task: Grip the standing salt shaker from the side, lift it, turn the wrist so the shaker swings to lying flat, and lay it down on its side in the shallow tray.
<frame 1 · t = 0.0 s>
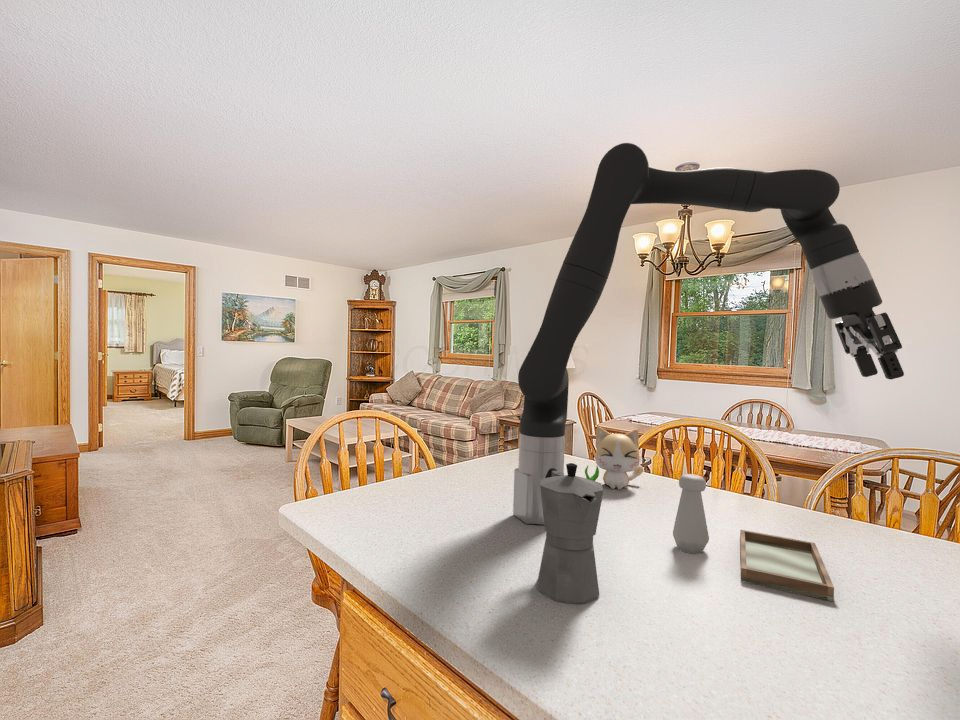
hand: (882, 376, 78), 31 cm above the countertop, tool tilted 20°, fingers open, 8 cm apart
tray: (780, 566, 77), on the countertop
kitten: (613, 486, 122), on the countertop
salt shaker: (690, 550, 83), on the countertop
coffeepot: (564, 585, 69), on the countertop
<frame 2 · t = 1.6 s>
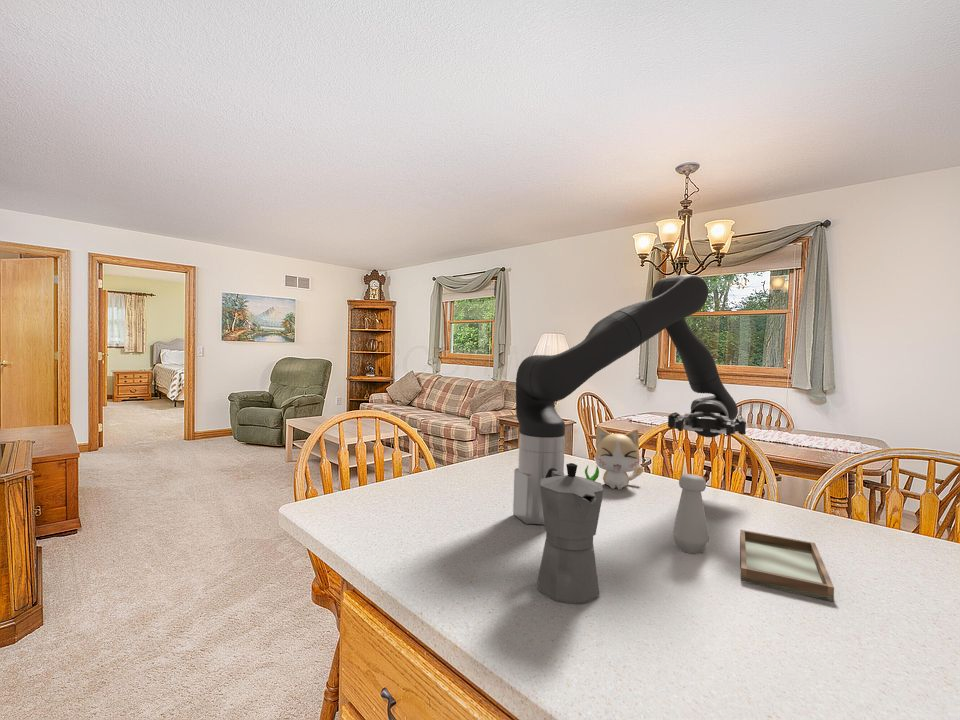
hand: (703, 427, 91), 20 cm above the countertop, tool horizontal, fingers open, 8 cm apart
nothing on the countertop moved.
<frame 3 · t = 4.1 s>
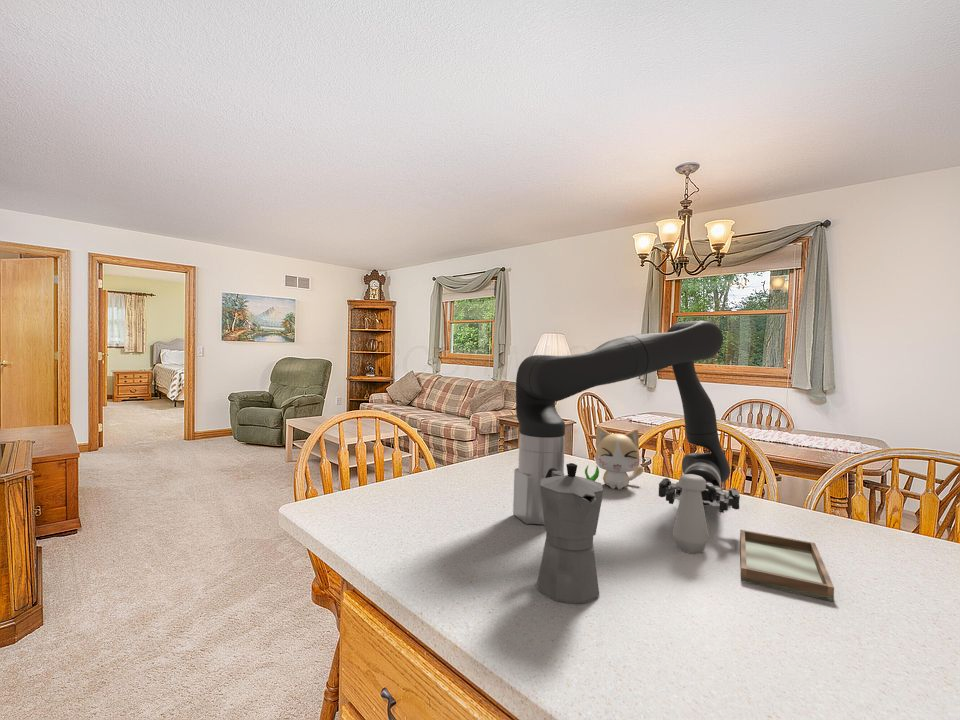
hand: (695, 502, 87), 7 cm above the countertop, tool horizontal, fingers open, 8 cm apart
nothing on the countertop moved.
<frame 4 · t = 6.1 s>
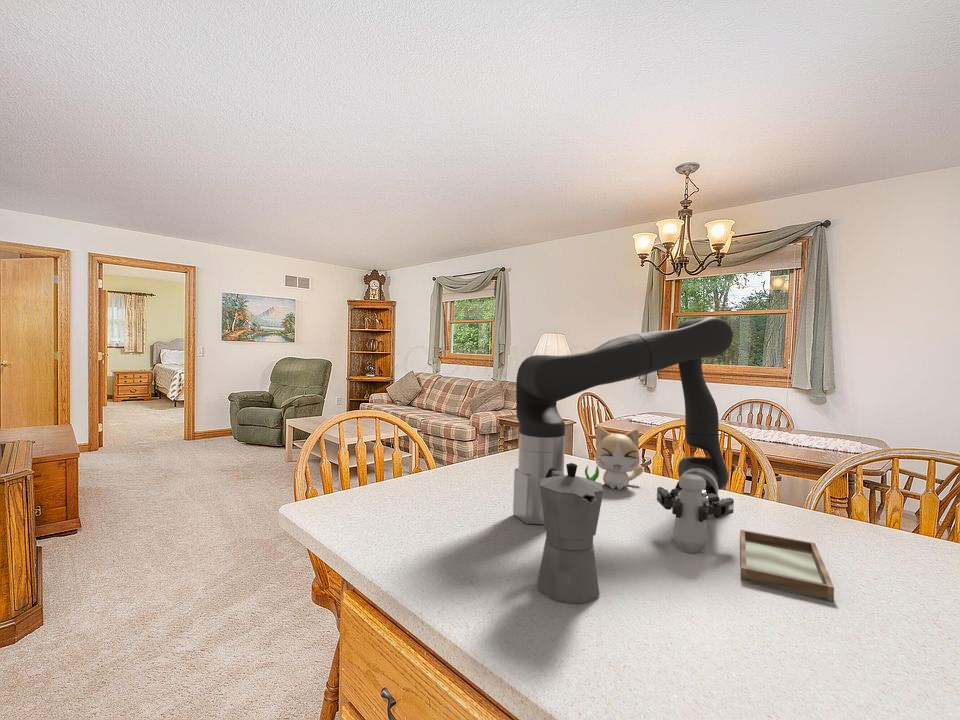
hand: (689, 513, 80), 7 cm above the countertop, tool horizontal, fingers closed on salt shaker, 3 cm apart
salt shaker: (689, 550, 83), on the countertop, touching gripper
everything else where it was.
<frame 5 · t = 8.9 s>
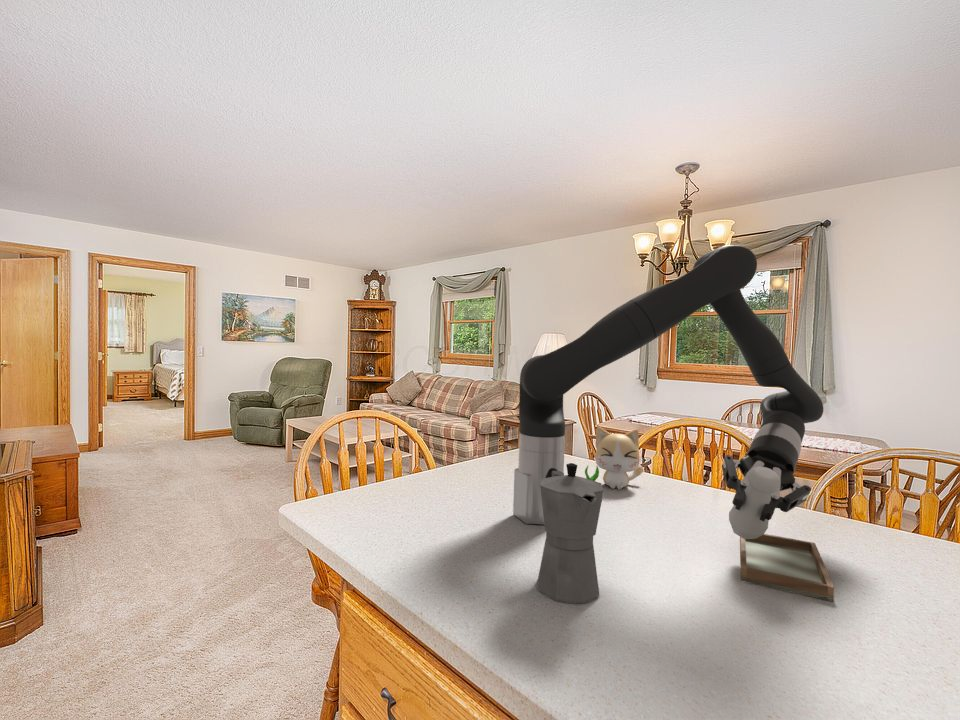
hand: (751, 511, 74), 10 cm above the countertop, tool tilted 65°, fingers closed on salt shaker, 3 cm apart
salt shaker: (743, 530, 80), point 5 cm above the countertop, touching gripper
everything else where it was.
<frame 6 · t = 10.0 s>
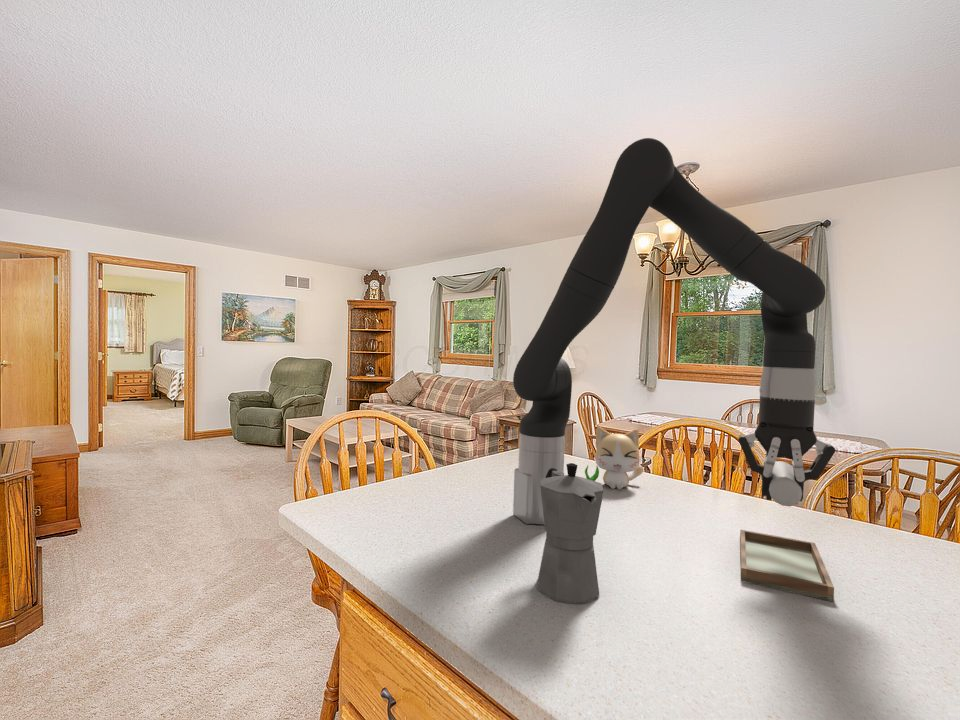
hand: (781, 500, 77), 11 cm above the countertop, tool pointing down, fingers closed on salt shaker, 3 cm apart
salt shaker: (779, 474, 84), point 13 cm above the countertop, touching gripper
everything else where it was.
when the fingers open (2 cm above the countertop, at t = 11.8 s): salt shaker drops 1 cm, resting on tray.
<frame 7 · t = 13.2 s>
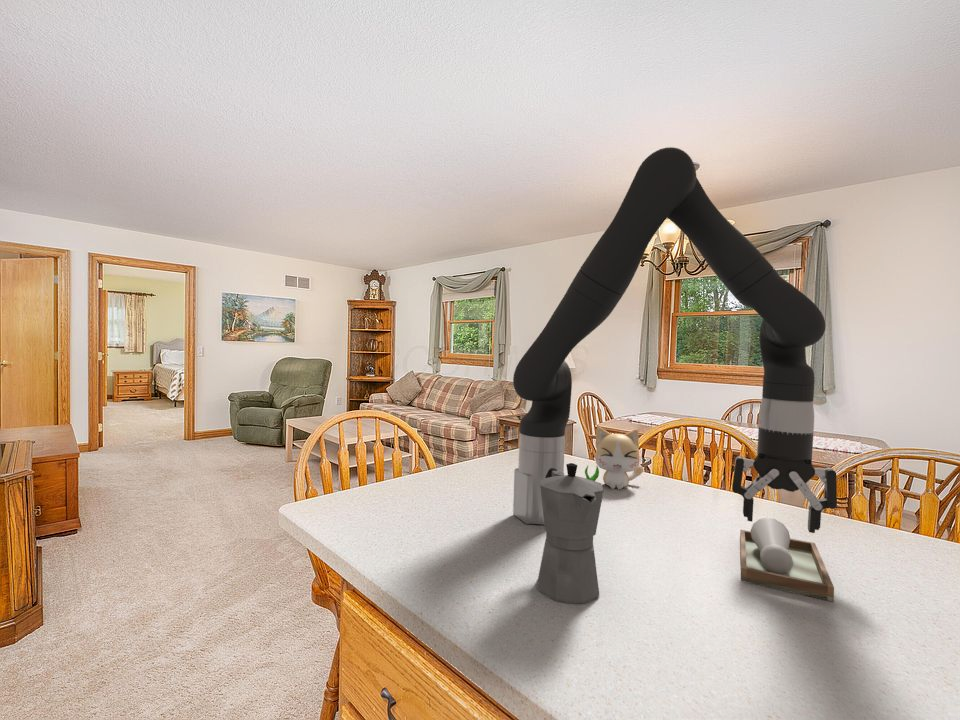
hand: (779, 525, 77), 7 cm above the countertop, tool pointing down, fingers open, 8 cm apart
salt shaker: (768, 528, 84), point 4 cm above the countertop, touching tray
everything else where it was.
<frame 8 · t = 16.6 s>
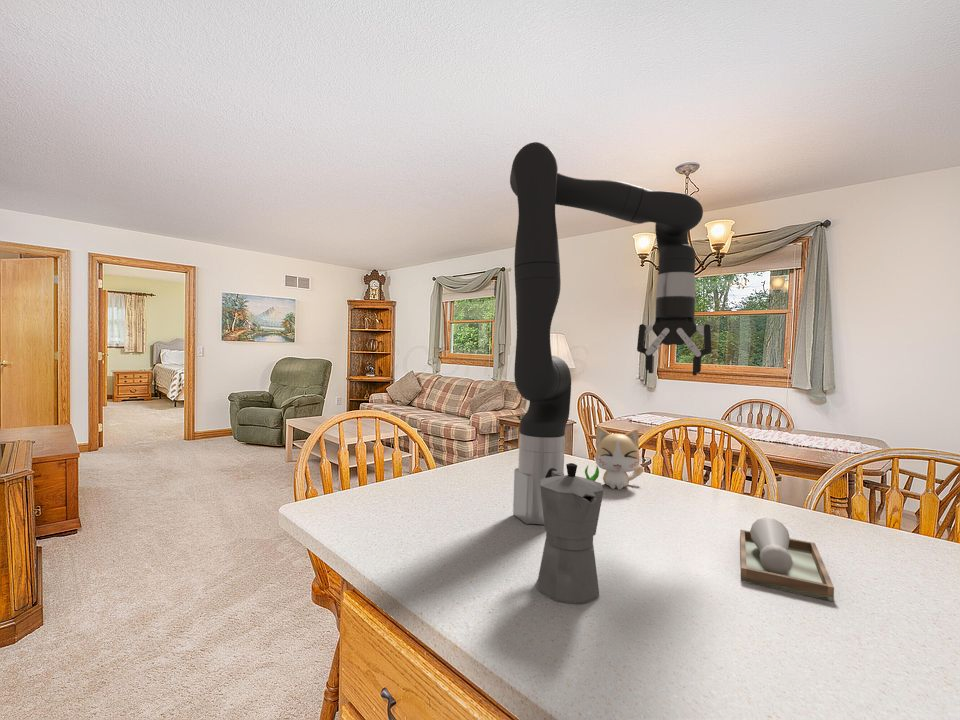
hand: (672, 374, 98), 30 cm above the countertop, tool pointing down, fingers open, 8 cm apart
nothing on the countertop moved.
at the end: salt shaker tilted 94°; salt shaker 7.2 cm from the tray (horizontally); the gripper is holding nothing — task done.
